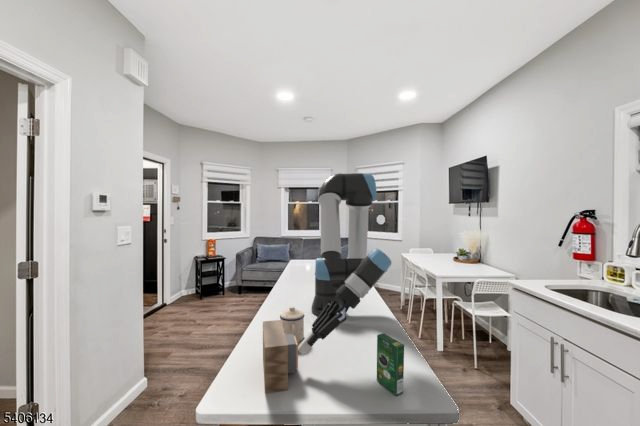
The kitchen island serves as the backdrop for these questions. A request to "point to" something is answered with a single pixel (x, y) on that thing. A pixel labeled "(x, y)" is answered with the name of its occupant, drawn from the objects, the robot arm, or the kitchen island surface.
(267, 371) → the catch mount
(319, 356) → the kitchen island surface
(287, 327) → the teacup with lid
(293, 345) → the gray housing block
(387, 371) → the coffee box
